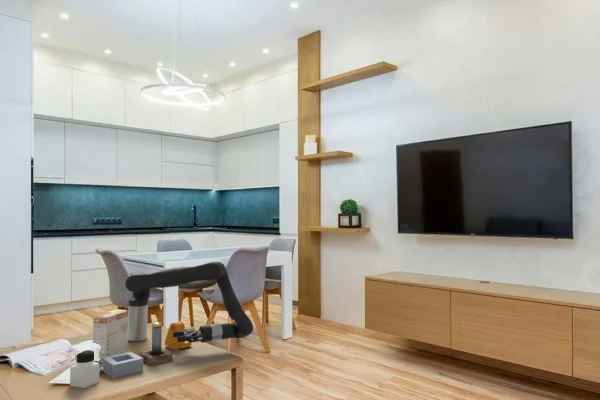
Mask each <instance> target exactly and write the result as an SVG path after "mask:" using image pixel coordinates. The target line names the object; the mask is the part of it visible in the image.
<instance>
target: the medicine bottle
mask: <svg viewBox="0 0 600 400" xmlns="http://www.w3.org/2000/svg"><path fill="white" fill-rule="evenodd" d="M75 355H76V357H75V358H76V359H75V360H76V363H75V364H74V365H72V366H70V368H69V369H70V371H69V372H70V374H69V386H70V387H74V388H81V389H87V388H88V387H91V386H93V385H95V384H97V383H100V362H94V351H93V350H91V349H90V350H89V349H85V350H81V351H78V352H77V353H76V354H75Z"/></svg>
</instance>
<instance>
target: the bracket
mask: <svg viewBox="0 0 600 400" xmlns="http://www.w3.org/2000/svg"><path fill="white" fill-rule="evenodd" d="M183 329H185V323H184V322H183V321H181V320H179V321H177V322H176V321H175V322H173V323H170V325H169V326H168V330H167V333H166V336H165V339H164V346H166V347H168V348H169V349H172V348H173V350H180V349H185V348H187V347H191V346H192V342H191V343H189V342H186V341H184V342H177V337H173V332H180V331H182V330H183Z"/></svg>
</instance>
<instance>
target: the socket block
mask: <svg viewBox="0 0 600 400" xmlns="http://www.w3.org/2000/svg"><path fill="white" fill-rule="evenodd" d="M139 356H140V357H142V358H143V363H145V364H147V365H149V366H156V365H159V364H163V363H167V362H172V361H173V357H174V355H173V352H170V351H169V350H166V349H165V348H161V354H160V355H156V356H152V350H148V351H145V352H144V351H143V352H140V355H139Z"/></svg>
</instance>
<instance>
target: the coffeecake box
mask: <svg viewBox="0 0 600 400" xmlns="http://www.w3.org/2000/svg"><path fill="white" fill-rule="evenodd" d="M92 319H93V321H92V322H93V324H92V325H93V326H92V344H93V343H96V344H99V345H100V346H101V349H100V351H99V358H100V360H99V362H98V363H102V358H103V357H108V356H113V355H118V354H123V353H128V310H127V309H121V308H120V309H118V308H116V309H112V310H110V311H106V312H104V313H99V314H97V315H93V318H92Z"/></svg>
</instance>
